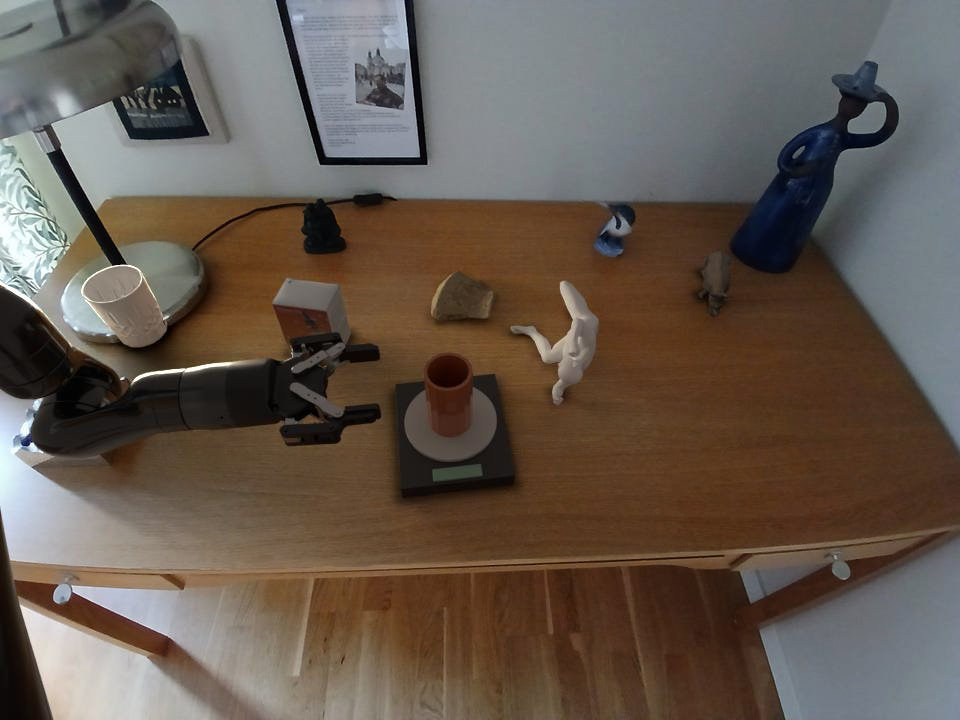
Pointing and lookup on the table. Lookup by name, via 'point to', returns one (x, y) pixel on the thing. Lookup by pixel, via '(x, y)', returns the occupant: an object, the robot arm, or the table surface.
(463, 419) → the cup
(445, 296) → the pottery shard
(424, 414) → the scale
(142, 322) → the white cup
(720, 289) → the rhino figurine
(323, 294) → the small box
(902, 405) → the table surface
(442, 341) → the table surface
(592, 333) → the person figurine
